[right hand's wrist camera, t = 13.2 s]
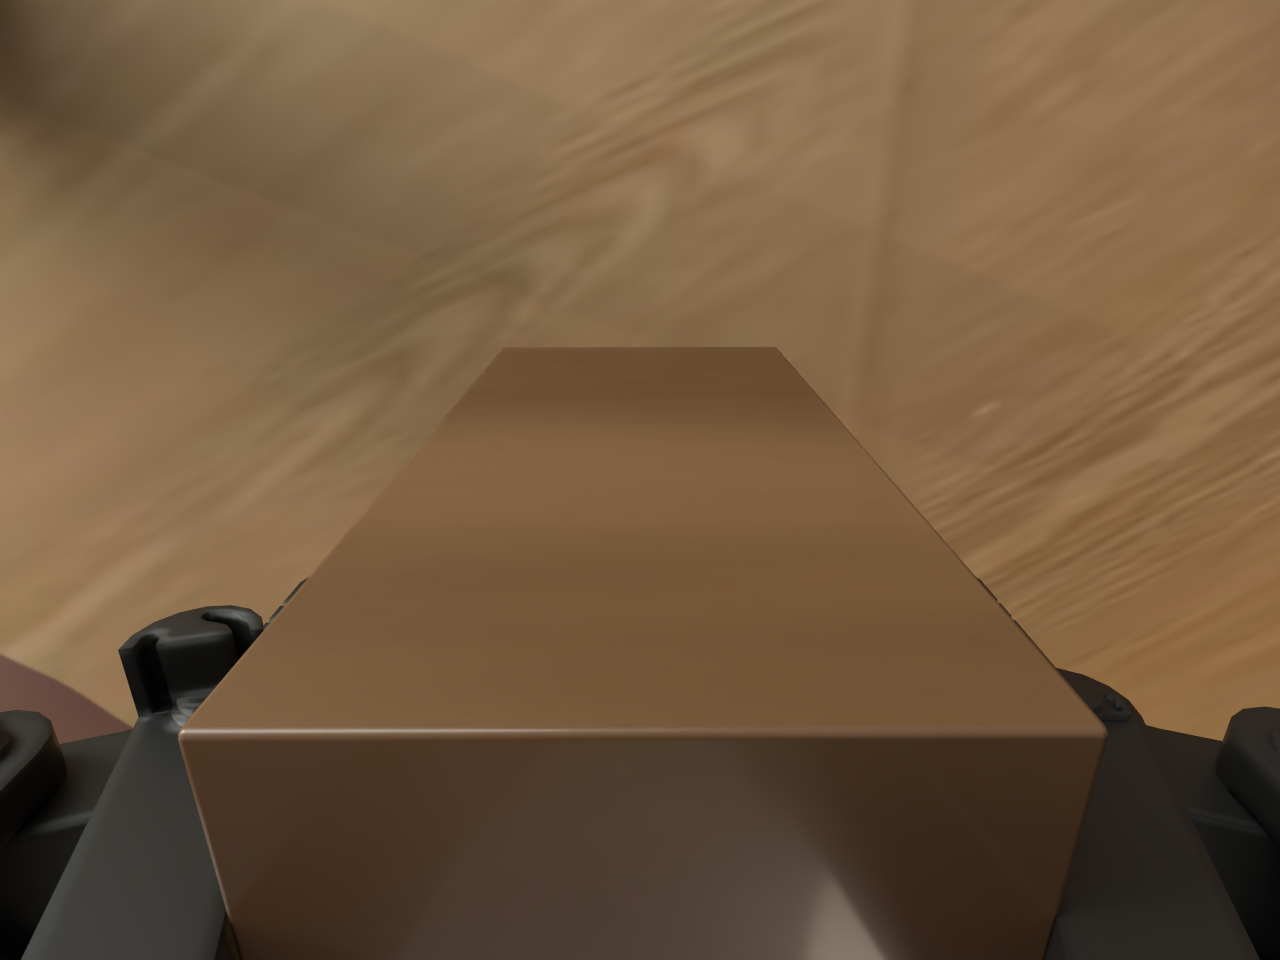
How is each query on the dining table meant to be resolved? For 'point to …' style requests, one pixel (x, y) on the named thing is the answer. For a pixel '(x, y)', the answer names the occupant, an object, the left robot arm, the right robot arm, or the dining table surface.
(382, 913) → the box
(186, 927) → the right robot arm
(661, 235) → the dining table surface
